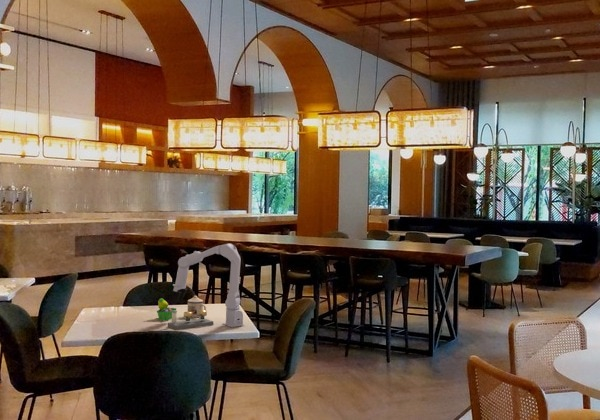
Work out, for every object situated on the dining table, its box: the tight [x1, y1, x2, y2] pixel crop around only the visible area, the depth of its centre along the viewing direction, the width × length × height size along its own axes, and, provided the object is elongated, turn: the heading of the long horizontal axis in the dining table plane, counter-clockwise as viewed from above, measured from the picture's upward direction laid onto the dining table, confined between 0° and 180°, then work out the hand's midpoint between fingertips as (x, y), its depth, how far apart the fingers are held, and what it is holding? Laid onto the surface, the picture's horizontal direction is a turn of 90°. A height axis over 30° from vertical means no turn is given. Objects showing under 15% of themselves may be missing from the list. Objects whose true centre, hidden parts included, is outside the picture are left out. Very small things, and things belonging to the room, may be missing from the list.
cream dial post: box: [171, 309, 178, 324], centre depth 352 cm, size 3×3×7 cm
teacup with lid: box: [187, 295, 207, 319], centre depth 381 cm, size 12×9×12 cm
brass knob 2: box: [198, 309, 208, 319], centre depth 359 cm, size 4×4×4 cm
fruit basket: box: [156, 297, 177, 321], centre depth 373 cm, size 11×9×11 cm
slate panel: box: [167, 318, 214, 331], centre depth 356 cm, size 10×22×2 cm, turn 130°
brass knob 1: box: [183, 311, 193, 321], centre depth 353 cm, size 4×4×4 cm
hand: (177, 302), depth 366 cm, fingers open, 7 cm apart
